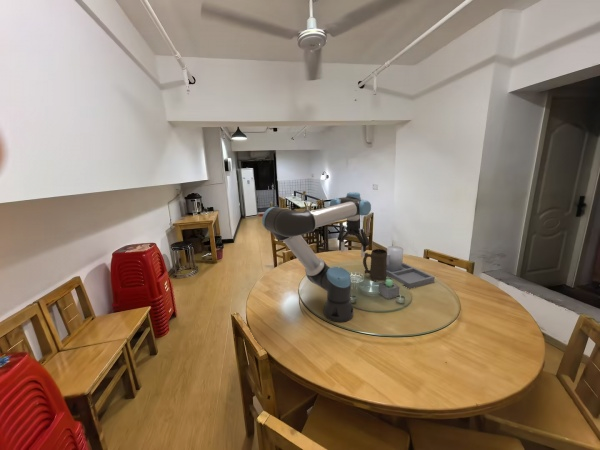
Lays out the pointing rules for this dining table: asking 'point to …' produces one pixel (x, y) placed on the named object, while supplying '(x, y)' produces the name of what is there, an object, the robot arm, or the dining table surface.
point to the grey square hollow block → (388, 290)
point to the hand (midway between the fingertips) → (352, 253)
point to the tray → (411, 276)
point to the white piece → (394, 258)
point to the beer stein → (376, 264)
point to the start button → (389, 283)
